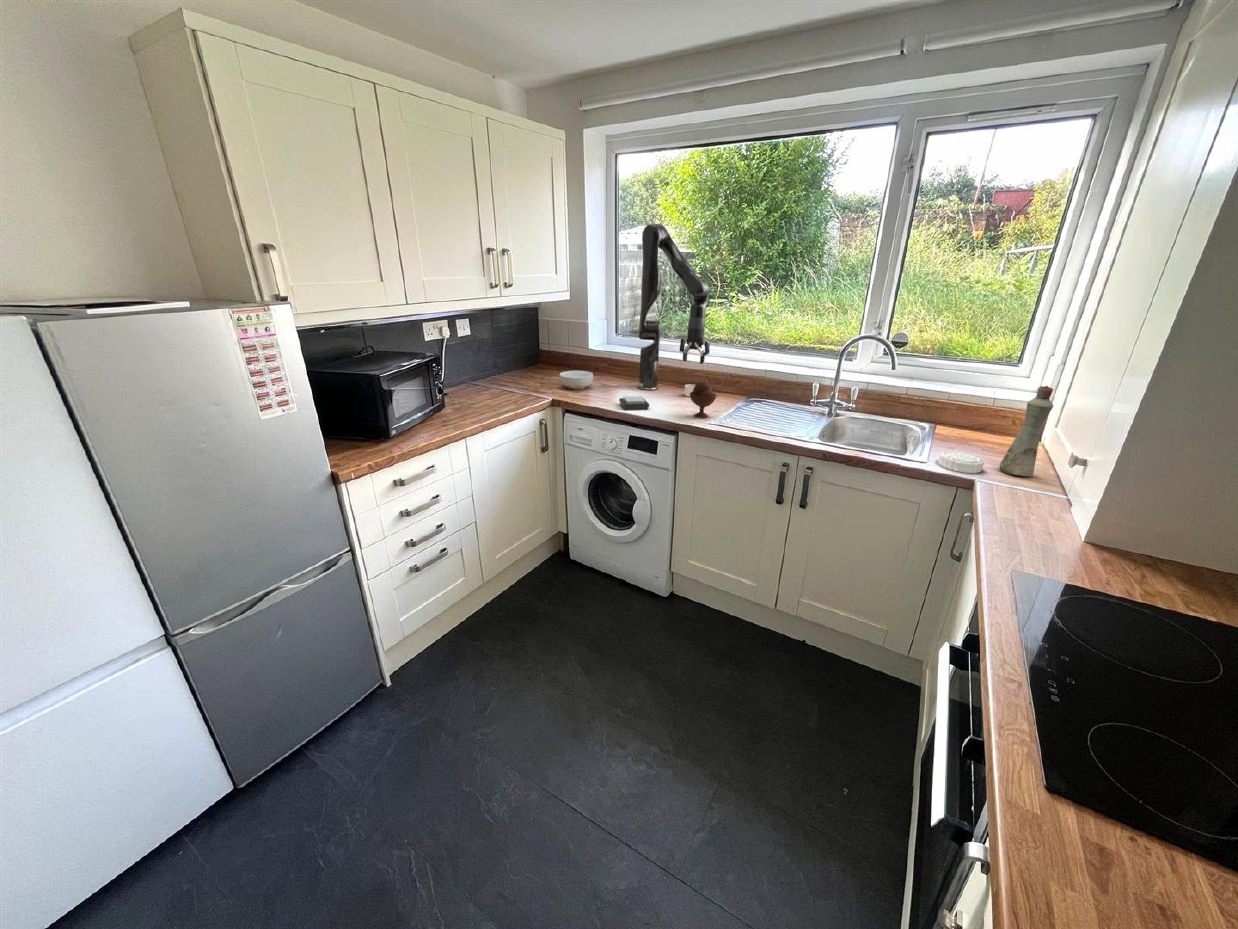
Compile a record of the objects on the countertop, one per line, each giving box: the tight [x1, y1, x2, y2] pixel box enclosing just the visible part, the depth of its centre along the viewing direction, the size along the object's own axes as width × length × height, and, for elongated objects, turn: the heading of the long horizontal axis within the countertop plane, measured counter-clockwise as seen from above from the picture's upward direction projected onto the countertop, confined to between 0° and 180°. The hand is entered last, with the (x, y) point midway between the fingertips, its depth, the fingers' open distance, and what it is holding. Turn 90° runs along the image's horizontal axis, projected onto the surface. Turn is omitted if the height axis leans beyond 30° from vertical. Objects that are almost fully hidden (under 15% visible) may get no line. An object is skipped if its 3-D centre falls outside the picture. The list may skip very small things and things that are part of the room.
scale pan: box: [623, 396, 646, 404], centre depth 217 cm, size 8×8×2 cm
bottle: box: [998, 385, 1054, 478], centre depth 152 cm, size 9×9×28 cm
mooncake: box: [937, 450, 985, 474], centre depth 160 cm, size 12×12×4 cm
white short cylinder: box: [683, 383, 695, 398], centre depth 240 cm, size 6×6×5 cm
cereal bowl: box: [559, 370, 594, 390], centre depth 247 cm, size 17×17×7 cm
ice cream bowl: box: [689, 380, 718, 419], centre depth 204 cm, size 11×11×15 cm
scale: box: [619, 397, 650, 411], centre depth 218 cm, size 11×11×2 cm
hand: (693, 362), depth 235 cm, fingers open, 8 cm apart
